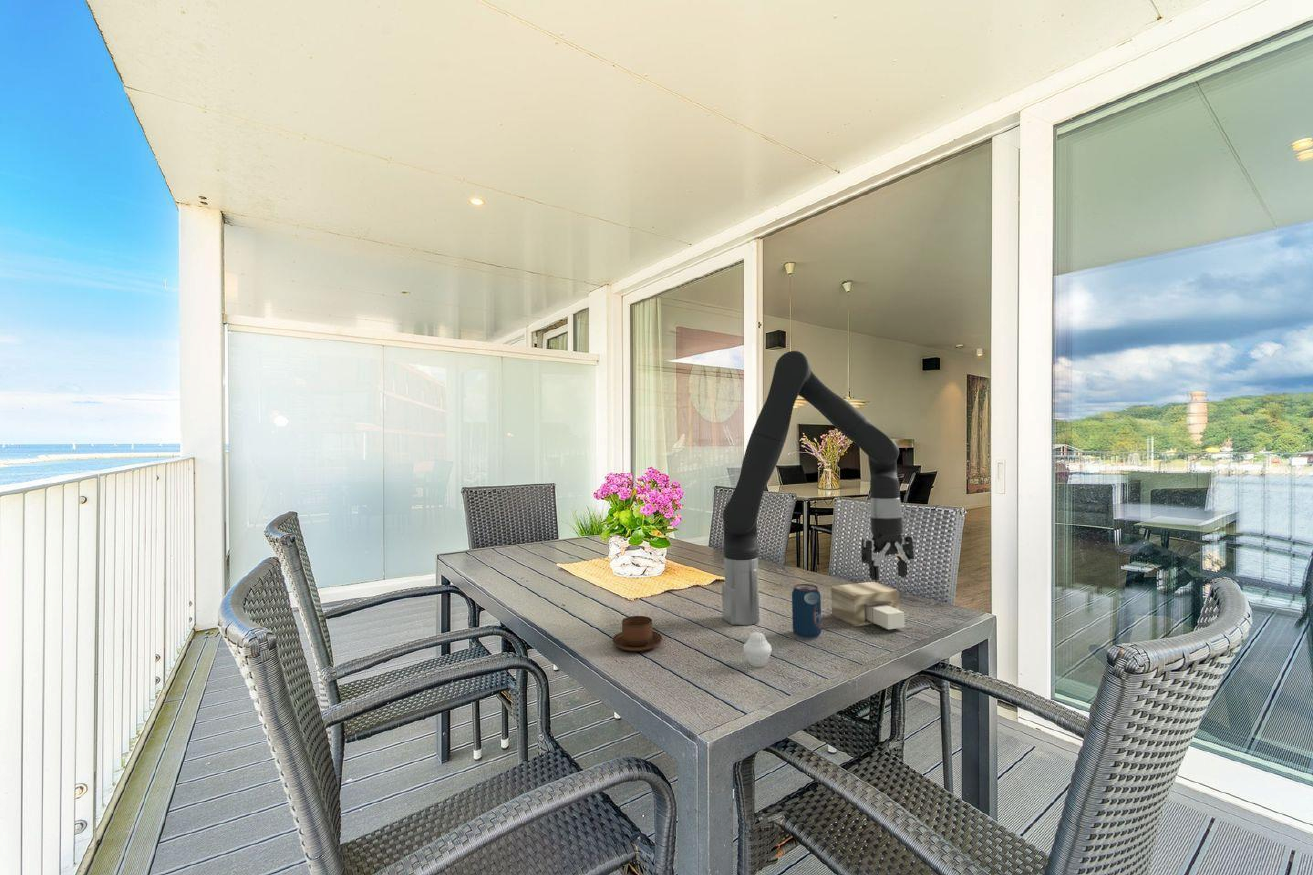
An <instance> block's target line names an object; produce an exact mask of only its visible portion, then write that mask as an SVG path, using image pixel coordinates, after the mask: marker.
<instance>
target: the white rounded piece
mask: <svg viewBox="0 0 1313 875" xmlns="http://www.w3.org/2000/svg"><path fill="white" fill-rule="evenodd" d="M742 649H743V651H744V656H745V657H746V659H747V660H748V662H749V664H750V665H751V666H752V667H755V668H763V667H765V666H766V665H767V662H768V661H769V659H770V657H771V653H772V650H773V649H772V645H771V644H770V642H769V641H768V640H767V639H766V636H765V634H763V633H761V632H752V633H750V634H749V636H748V639H747V640H746V642H744V644H743V648H742Z"/></svg>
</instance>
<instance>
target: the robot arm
mask: <svg viewBox="0 0 1313 875" xmlns="http://www.w3.org/2000/svg"><path fill="white" fill-rule="evenodd" d="M771 379H772V380H771V383H770V388H769V390H768V393H767V397H766V400H765V402H764V404H763V406H762V408H761V410H760V413H759V414H758V417H757V419H756V421H755V424H754V427H753V429H752V431H751V434H750V437H749V439H748V441H747V444H746V448H745V452H744V455H743V459H742V462H741V464H742V465H741V468H740V473H739V477H738V481H737V483H736V486H735V488H734V490H733V492H732V494H731V495H730V498H729V501H728V502H727V503H726V504H725V505H724V508H723V510H722V521H723V559H724V560H723V562H724V563H723V564H724V565H723V566H724V571H723V572H724V583H722V584H721V599H722V600H721V601H722V604H721V605H722V607H721V608H722V619H723V620H725V621H726V622H728V623H729V624H730V625H732V626H733V625H741V626H749V625H755V624H757V623H759V622H760V620H761V619H760V615H761V614H760V591H759V589H760V587H759V552H758V548H759V547H758V516H759V515H758V514H759V510H760V507H761V503H762V499H763V495H764V493H765V489H766V488H767V485H768V482H769V481H770V479H771V477H772V474H773V473H774V470H775V468H776V467H777V464H778V461H779V459H780V457H781V453H782V451H783V448H784V446H785V443H786V440H787V437H788V433H789V429H790V424H791V421H792V415H793V410H794V406H795V403H796V401H797V399H798V396H800V397H801V398H803V399H804V400H805V401H806V402H807V403H809V404H810V405H811V406H813V407H814V408H815V409H816V410H817V411H818V412H819V413H820V414H821V415H822V416H823V417H824V418H826V419H827V420H828V421H829V422H830V423H831V425H833V426H834V427H835V428H836V429H837V430H838V431H839V432H840V433H841V434H842V435H843V436H845V437H846V439H849V441H850V442H853V443H855V445H857V447H859V449H861V450H862V451H863V452H864V453H865V454H866V455H867V458H868V467H869V474H870V482H869V484H870V485H869V489H870V492H869V493H870V500H869V501H870V502H869V515H870V516H869V517H870V532H871V533H872V538H871V539H865V538H863V539H861V559H860V560H861V563H864V564H867V565H868V570H869V571H868V574H869V578H870V579H871V580H872V581H874V582H875V581H876V582H877V581H879V580H880V574H879V570H880V569H879V565H878V564H879V563H880V562H881V560H883V558H884V557H885V556H887V557H888V556H890V555H891V556H895V558H896V559H897V560H898V561H897V575H898V576H899V577H900V578H906V577H907V575H908V562H909V561H911V560H913V559H914V558H915V555H914V545H913V537H912V536H911V535H905V534H903V531H904V529H903V512H902V511H903V510H902V501H901V490H900V479H899V477H898V468H897V466H898V465H897V462H898V461H897V460H898V458H899V455H900V449H899V446H898V444H897V443H896V441H894V439H892V438H891V437H890V436H889V435H887V434H886V433H884V432H883V431H882V430H880V428H878V427H877V426H875V425H874V424H873V423H872V422H871V421H870V420H869V419H868V418H867V416H865V415H864V414H863V413H862V412H860V410H858V409H857V408H856V407H855V406H853V405H852V404H851V403H850V402H849V401H847V400H846V399H845V398H842V397H841V396H840V395H838V394H837V393H835V392H834V391H833V390H831V389H830V388H829V387H828V386H826V385H825V384H824V383H823V382H822V381H821V380H820V379H819V378H818V376H816V374H815V373H814V372H813V371H812V369H811V363H810V361H809V359H808V357H807V356H806V355H805V354H804V353H802V352H800V351H799V350H791V351H786V352H785V353H784V354H782V355H781V356H780V357H779V358H778V360H777V361H776V363H775V366H774V370H773V376H772V378H771ZM902 534H903V535H902Z"/></svg>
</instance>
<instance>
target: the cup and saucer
mask: <svg viewBox="0 0 1313 875" xmlns="http://www.w3.org/2000/svg"><path fill="white" fill-rule="evenodd" d="M662 641H663V636H662V635H661V634H660V633H659V632H656V631H653V619H652V618H651V617H649V616H645V615H633V616H628V617H625V618H622V620H621V632H619V633H616V634H615V635H614V636H613V637H612V643H613V645H615V647H616V648H618V649H620V650H624V651H627V652H644V651H648V650H652V649H655V648H656V647H658V646H659V645H660V643H661V644H662Z"/></svg>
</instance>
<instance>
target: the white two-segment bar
mask: <svg viewBox="0 0 1313 875" xmlns="http://www.w3.org/2000/svg"><path fill="white" fill-rule="evenodd" d="M864 611H865V619H866V620H869V621H871V622H872V623H875V625H878V626H880V627H882V628H884V629H886V630H893V629H900V628H905V627H906V625H905V624H906V622H905V611H902V610H900V609H899V610H898V609H895V608H893V607H890V606H888V605H885V604H884V605H876V606H869V607H866V606H864Z"/></svg>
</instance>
